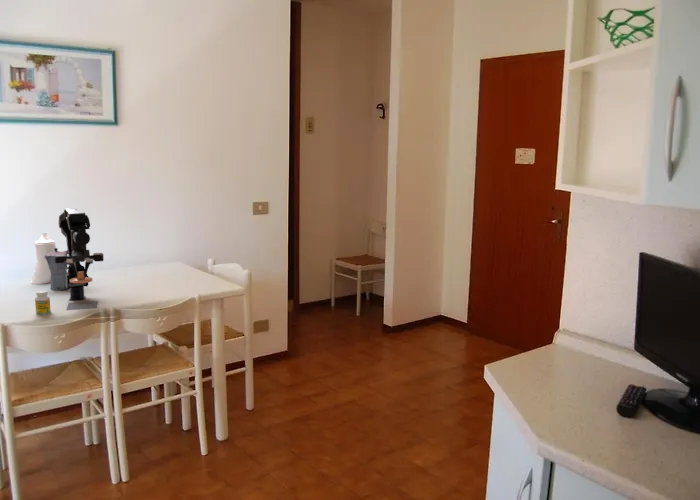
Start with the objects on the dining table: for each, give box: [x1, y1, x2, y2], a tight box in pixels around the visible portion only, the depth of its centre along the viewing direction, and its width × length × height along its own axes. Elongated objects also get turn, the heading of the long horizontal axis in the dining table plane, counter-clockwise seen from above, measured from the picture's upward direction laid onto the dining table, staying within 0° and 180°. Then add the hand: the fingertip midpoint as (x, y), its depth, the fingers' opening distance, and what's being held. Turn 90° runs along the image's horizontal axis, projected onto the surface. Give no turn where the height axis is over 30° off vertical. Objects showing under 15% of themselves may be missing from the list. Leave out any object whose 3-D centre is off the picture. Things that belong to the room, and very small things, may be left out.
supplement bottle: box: [34, 290, 52, 316], centre depth 247 cm, size 5×5×10 cm
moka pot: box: [44, 247, 70, 291], centre depth 290 cm, size 10×15×20 cm, turn 158°
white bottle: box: [30, 232, 57, 285], centre depth 301 cm, size 12×11×25 cm
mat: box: [66, 300, 99, 311], centre depth 260 cm, size 12×12×1 cm
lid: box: [70, 271, 93, 284], centre depth 258 cm, size 9×9×4 cm
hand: (80, 277), depth 258 cm, fingers closed on lid, 3 cm apart
